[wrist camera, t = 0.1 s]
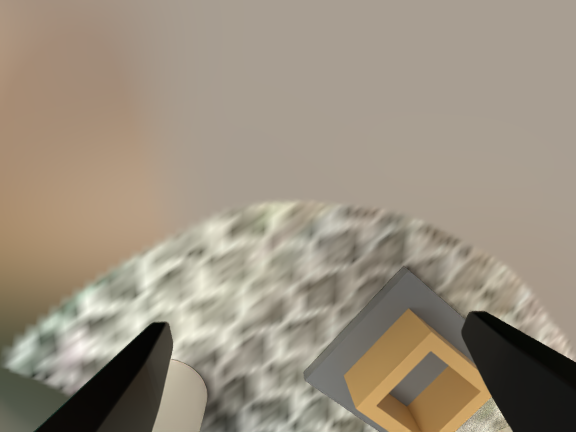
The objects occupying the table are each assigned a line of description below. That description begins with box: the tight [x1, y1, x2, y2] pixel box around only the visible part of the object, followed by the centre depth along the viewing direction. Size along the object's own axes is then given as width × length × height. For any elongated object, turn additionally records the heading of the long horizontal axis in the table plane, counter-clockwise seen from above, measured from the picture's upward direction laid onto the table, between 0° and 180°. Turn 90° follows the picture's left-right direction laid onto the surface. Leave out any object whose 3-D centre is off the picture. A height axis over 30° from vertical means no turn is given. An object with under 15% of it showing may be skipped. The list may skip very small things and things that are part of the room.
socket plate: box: [304, 266, 492, 432], centre depth 25 cm, size 14×14×4 cm
